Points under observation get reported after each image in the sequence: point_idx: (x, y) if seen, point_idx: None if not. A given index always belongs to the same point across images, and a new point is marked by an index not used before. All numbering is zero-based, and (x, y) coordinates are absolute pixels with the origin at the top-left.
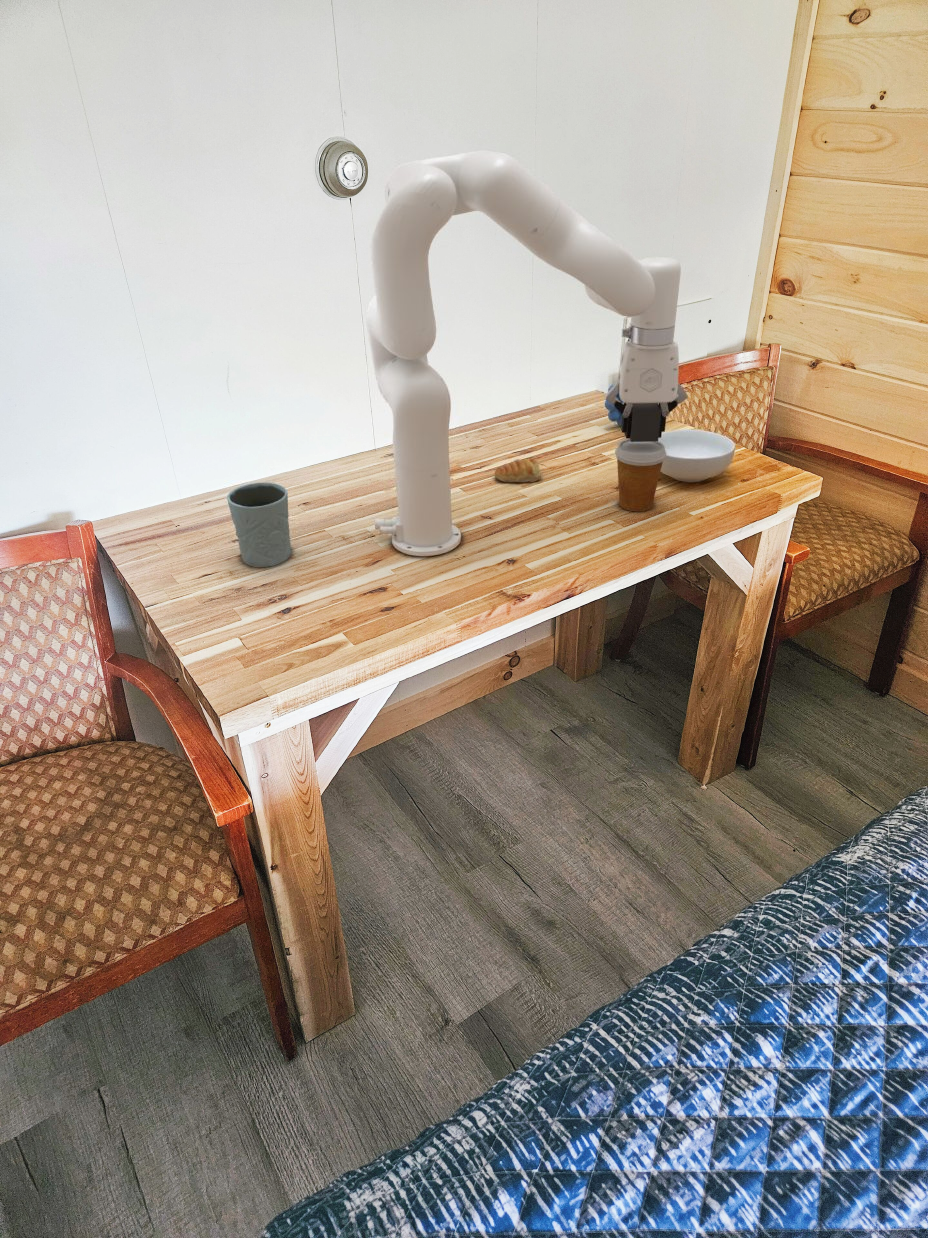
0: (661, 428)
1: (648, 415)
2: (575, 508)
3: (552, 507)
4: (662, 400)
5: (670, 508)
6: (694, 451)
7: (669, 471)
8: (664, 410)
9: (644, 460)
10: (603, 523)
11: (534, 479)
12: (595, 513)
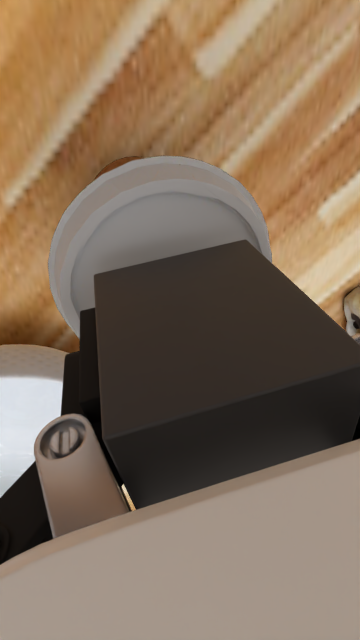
0: (84, 342)
1: (212, 359)
2: (294, 154)
3: (350, 152)
4: (105, 550)
5: (31, 197)
6: (26, 462)
7: (62, 352)
8: (75, 458)
9: (147, 166)
10: (228, 42)
11: (358, 290)
12: (246, 125)
